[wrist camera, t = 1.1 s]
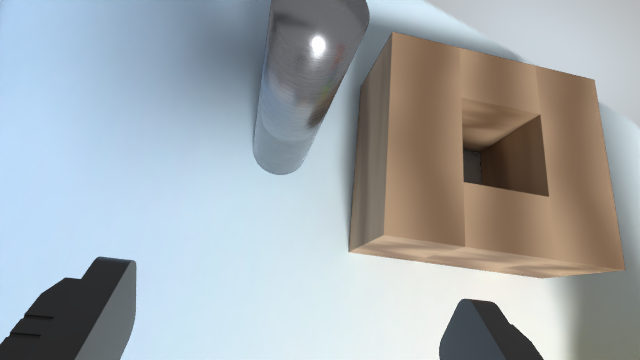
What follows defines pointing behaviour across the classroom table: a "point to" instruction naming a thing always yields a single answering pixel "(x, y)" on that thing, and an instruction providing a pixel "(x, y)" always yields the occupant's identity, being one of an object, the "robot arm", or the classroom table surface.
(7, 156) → the classroom table surface
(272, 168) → the long pin
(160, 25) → the classroom table surface
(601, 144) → the bore block
